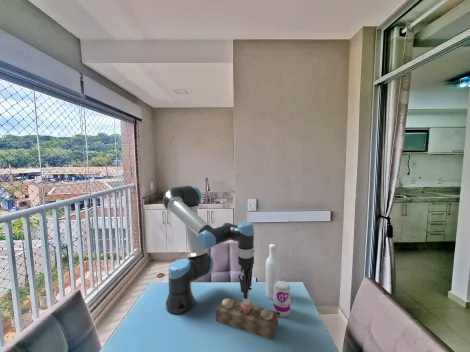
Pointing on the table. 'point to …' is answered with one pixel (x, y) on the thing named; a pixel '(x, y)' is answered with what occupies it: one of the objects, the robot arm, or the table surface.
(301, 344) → the table surface
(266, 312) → the maple plug
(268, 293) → the bottle
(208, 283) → the table surface
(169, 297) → the robot arm
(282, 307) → the supplement can
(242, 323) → the socket board
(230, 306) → the maple plug
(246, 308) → the brick-red plug
